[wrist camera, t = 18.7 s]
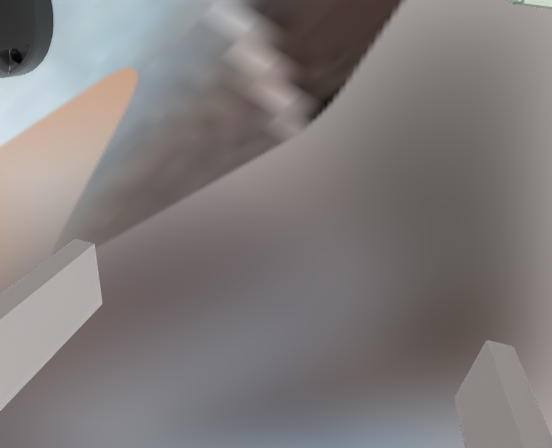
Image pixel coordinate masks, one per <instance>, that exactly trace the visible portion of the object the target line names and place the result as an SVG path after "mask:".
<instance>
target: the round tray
mask: <svg viewBox="0 0 552 448" xmlns="http://www.w3.org/2000/svg"><path fill="white" fill-rule="evenodd" d="M507 1H508V2H510V3H513V2H514V3H513V4H514V5H522V6H529V7H536V8H544V9H551V10H552V0H507Z"/></svg>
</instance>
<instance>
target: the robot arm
mask: <svg viewBox="0 0 552 448" xmlns="http://www.w3.org/2000/svg"><path fill="white" fill-rule="evenodd" d="M52 30H53V16H52V7H51V2H50V0H0V78H5V77H12V76H18V75H23V74H26V73H28V72H30V71H32V70H33V69H35V68H36V67H37V66H38V65H39V64H40V63H41V62H42V61H43V59H44V58H45V56H46V54H47V52H48V49H49V46H50V43H51V38H52ZM101 305H102V297H101V289H100V282H99V274H98V267H97V259H96V252H95V244H94V243H90V242H86V241H81V240H77V239H74V240H72V241H71V242H70V243H68V244H67V245H66V246H64V247H63V248H62V249H60V250H59V251H57V252H56V253H55V254H53V255H52V256H51V257H49V258H48V259H47V260H45V261H44V262H43V263H41V264H40V265H39V266H37V267H36V268H34V269H33V270H32V271H30V272H29V273H28V274H26V275H25V276H24V277H22V278H21V279H19V280H18V281H17V282H16V283H14V284H13V285H11V286H10V287H9V288H7V289H6V290H5V291H3V292H2V293H0V411H1V410H2V409H3V408H4V406H5V405H6V404H7V403H8V402H9V401H10V400H11V399H12V398H13V397H14V396H15V395H16V394H17V393H18V392H19V391H20V390H21V389H22V387H24V385H25V384H26V383H27V382H28V381H29V380H30V379H31V378H32V377H33V376H34V375H35V374H36V373H37V372H38V371H39V370H40V369H41V368H42V367H43V365H44V364H45V363H46V362H47V361H48V360H49V359H50V358H51V357H52V356H53V355H54V354H55V353H56V352H57V351H58V349H60V348H61V347H62V345H64V343H65V342H66V341H67V340H68V339H69V338H70V337H71V336H72V335H73V334H74V333H75V332H76V331H77V330H78V329H79V328H80V327H81V326H82V325H83V323H84V322H85V321H86V320H87V319H88V318H89V317H90V316H91V315H92V314H93V313H94V312H95V311H96V310H97V309H98V308H99V307H100V306H101ZM455 403H456V408H457V413H458V417H459V422H460V427H461V431H462V436H463V441H464V445H465V448H552V436H551V434H550V431H549V429H548V427H547V424H546V422H545V420H544V417H543V415H542V413H541V410H540V408H539V406H538V403H537V401H536V399H535V396H534V394H533V392H532V389H531V387H530V384H529V382H528V380H527V377H526V375H525V373H524V370H523V368H522V366H521V363H520V361H519V359H518V356H517V354H516V352H515V349H514V347H513V346H508V345H505V344H501V343H497V342H493V341H488V340H487V341H486V343H485V345H484V346H483V348H482V349H481V351H480V353H479V355H478V357H477V358H476V360H475V362H474V364H473V366H472V367H471V369H470V371H469V373H468V375H467V376H466V378H465V380H464V382H463V384H462V385H461V387H460V389H459V390H458V392H457V394H456V396H455Z"/></svg>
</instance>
